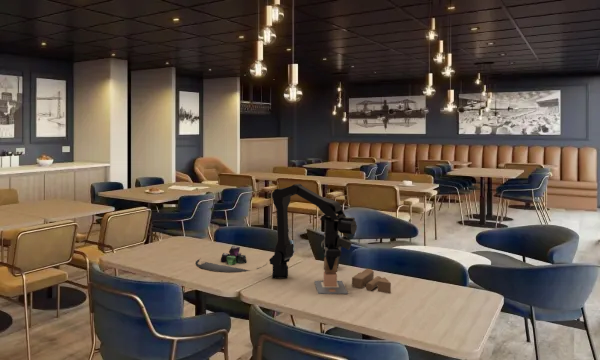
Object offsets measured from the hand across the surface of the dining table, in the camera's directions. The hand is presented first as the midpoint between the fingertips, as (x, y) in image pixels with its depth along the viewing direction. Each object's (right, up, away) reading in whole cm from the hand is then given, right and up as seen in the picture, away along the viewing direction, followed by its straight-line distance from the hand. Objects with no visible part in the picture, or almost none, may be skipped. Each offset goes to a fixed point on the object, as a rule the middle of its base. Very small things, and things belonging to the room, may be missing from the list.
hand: (330, 268), depth 213 cm
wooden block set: (+20, -9, +4) cm, 22 cm away
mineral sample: (-46, -4, +36) cm, 59 cm away
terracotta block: (0, -7, +1) cm, 7 cm away
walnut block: (0, -1, 0) cm, 1 cm away
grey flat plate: (0, -8, -1) cm, 8 cm away
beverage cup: (+3, -5, +29) cm, 30 cm away
